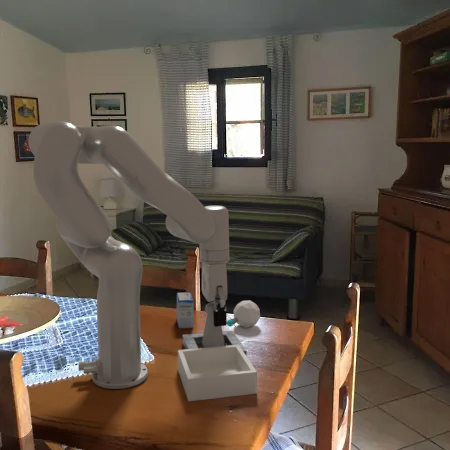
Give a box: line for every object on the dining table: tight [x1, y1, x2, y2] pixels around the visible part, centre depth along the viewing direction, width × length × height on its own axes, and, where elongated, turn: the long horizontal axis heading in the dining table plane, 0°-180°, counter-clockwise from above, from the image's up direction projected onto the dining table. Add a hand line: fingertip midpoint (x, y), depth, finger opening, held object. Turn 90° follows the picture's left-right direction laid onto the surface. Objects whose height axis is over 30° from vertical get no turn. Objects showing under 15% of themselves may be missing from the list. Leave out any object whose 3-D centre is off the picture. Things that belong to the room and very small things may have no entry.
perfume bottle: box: [226, 299, 261, 329], centre depth 143 cm, size 8×8×12 cm
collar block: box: [182, 330, 248, 357], centre depth 127 cm, size 14×14×2 cm
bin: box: [177, 345, 258, 402], centre depth 110 cm, size 15×15×5 cm
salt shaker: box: [202, 302, 225, 348], centre depth 126 cm, size 6×6×13 cm
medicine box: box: [176, 292, 195, 329], centre depth 146 cm, size 8×4×9 cm, turn 10°
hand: (215, 318), depth 126 cm, fingers open, 9 cm apart
